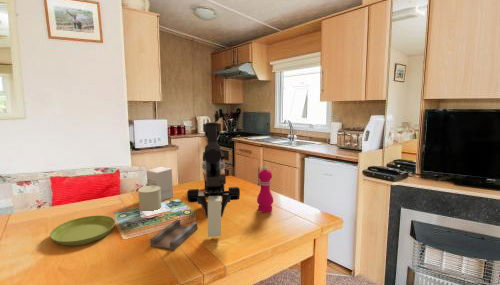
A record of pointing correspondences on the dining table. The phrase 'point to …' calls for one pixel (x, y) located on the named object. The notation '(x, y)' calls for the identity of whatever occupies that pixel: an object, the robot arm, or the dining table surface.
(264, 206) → the pepper mill
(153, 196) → the can
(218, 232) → the white rectangular block
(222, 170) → the reusable coffee cup
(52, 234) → the saucer
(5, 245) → the dining table surface
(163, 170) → the supplement box
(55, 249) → the dining table surface
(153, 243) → the floor track
